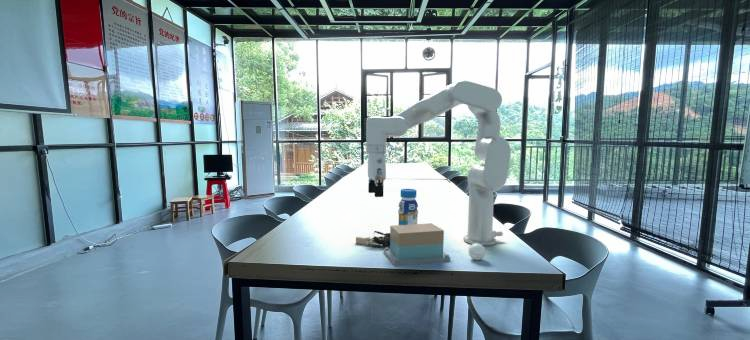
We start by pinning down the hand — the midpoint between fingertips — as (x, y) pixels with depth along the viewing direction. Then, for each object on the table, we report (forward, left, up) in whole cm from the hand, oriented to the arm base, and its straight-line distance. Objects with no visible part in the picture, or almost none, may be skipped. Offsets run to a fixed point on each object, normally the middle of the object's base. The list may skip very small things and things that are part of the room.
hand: (375, 194), depth 123 cm
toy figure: (0, -1, -21) cm, 21 cm away
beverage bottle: (-17, -10, -20) cm, 28 cm away
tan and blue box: (-11, +15, -20) cm, 27 cm away
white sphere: (-31, +23, -20) cm, 44 cm away
